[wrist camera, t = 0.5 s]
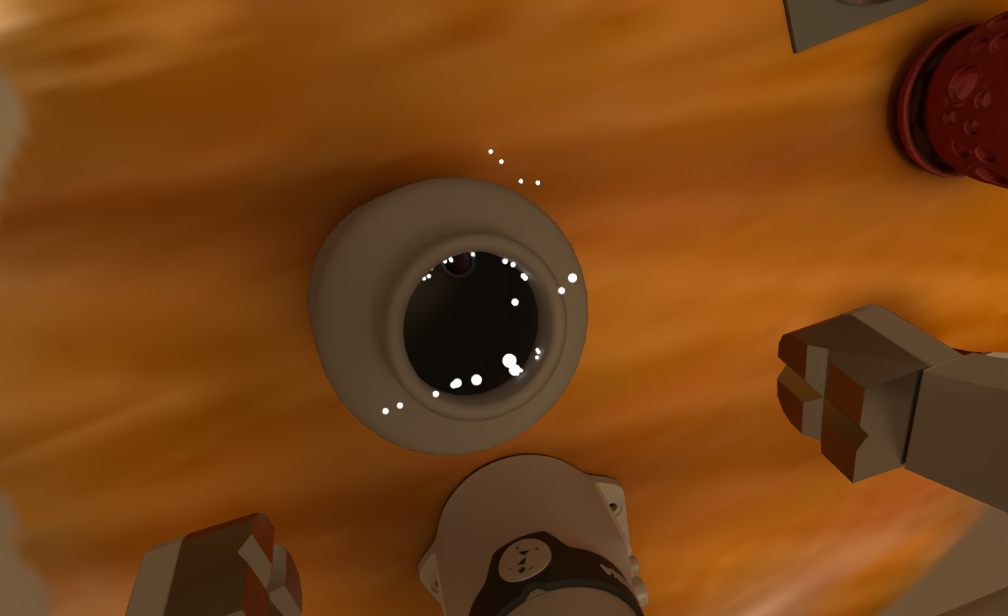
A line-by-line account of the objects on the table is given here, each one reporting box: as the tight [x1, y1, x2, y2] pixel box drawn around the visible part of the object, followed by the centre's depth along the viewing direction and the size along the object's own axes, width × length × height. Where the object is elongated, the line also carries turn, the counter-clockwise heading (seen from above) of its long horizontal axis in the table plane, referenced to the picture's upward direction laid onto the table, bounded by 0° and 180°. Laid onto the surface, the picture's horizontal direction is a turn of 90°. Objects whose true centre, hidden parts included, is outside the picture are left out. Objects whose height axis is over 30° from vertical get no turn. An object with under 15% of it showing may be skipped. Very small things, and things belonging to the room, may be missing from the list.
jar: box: [308, 150, 588, 455], centre depth 35 cm, size 19×15×25 cm
